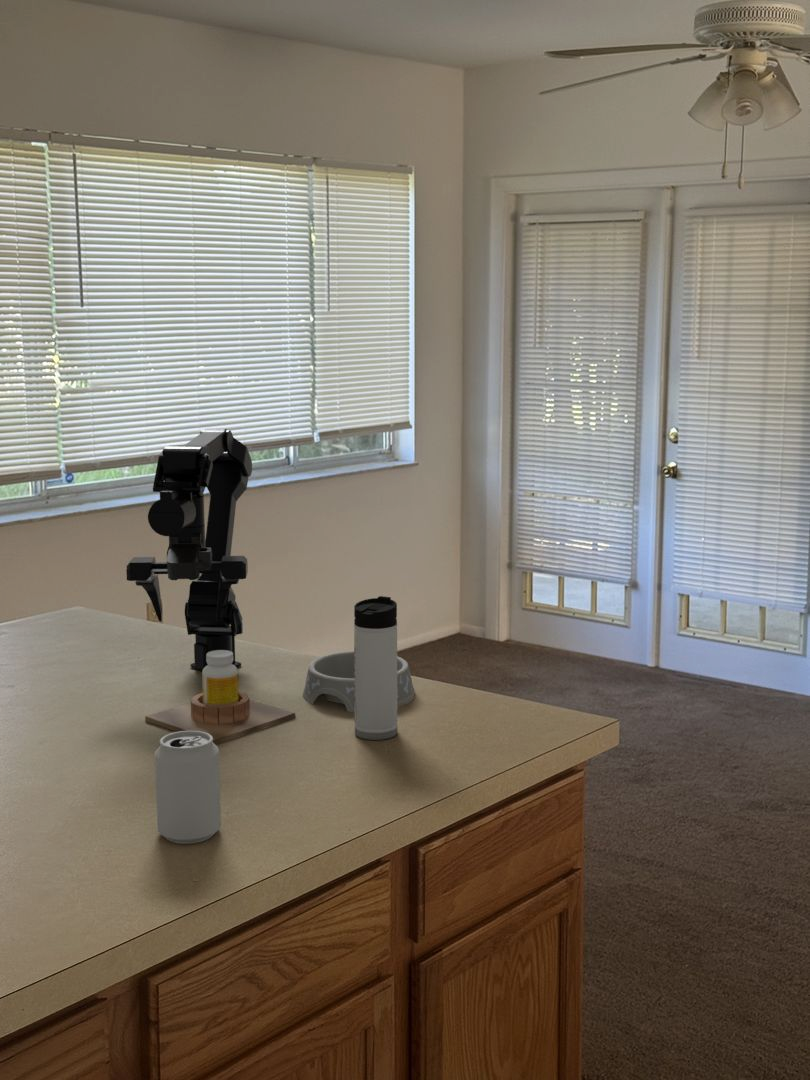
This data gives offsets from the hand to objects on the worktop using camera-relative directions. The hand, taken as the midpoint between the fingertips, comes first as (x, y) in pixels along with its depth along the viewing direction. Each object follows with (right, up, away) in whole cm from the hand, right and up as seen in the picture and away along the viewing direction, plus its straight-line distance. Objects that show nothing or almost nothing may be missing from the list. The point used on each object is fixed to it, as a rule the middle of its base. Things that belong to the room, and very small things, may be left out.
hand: (189, 620), depth 202 cm
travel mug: (+31, -16, -17) cm, 38 cm away
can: (+9, -22, -52) cm, 57 cm away
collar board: (+7, -14, -11) cm, 19 cm away
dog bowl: (+27, -13, +2) cm, 30 cm away
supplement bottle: (+7, -14, -11) cm, 19 cm away
